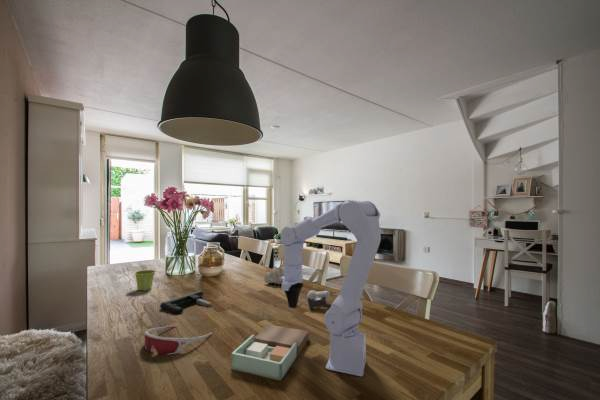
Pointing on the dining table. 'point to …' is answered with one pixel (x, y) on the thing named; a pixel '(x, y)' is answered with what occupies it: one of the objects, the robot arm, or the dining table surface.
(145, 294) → the dining table surface
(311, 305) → the clip-on lamp
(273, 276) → the seashell
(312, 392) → the dining table surface
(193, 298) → the door handle
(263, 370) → the green bin
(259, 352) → the white tile
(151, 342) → the sunglasses
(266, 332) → the walnut plate
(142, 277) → the plant pot
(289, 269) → the robot arm
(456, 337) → the dining table surface
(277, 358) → the terracotta tile
